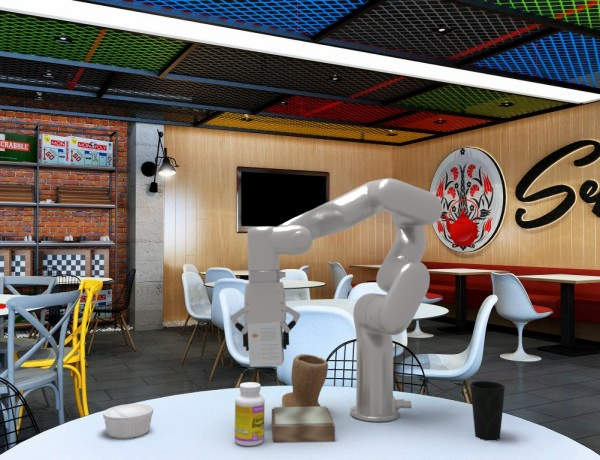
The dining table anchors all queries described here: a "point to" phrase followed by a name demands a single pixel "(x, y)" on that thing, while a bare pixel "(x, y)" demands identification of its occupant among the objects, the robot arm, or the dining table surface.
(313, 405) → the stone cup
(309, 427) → the stand
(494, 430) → the cup
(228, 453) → the dining table surface
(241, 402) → the supplement bottle
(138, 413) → the ramekin
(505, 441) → the dining table surface
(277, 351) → the small box
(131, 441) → the dining table surface
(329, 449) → the dining table surface
